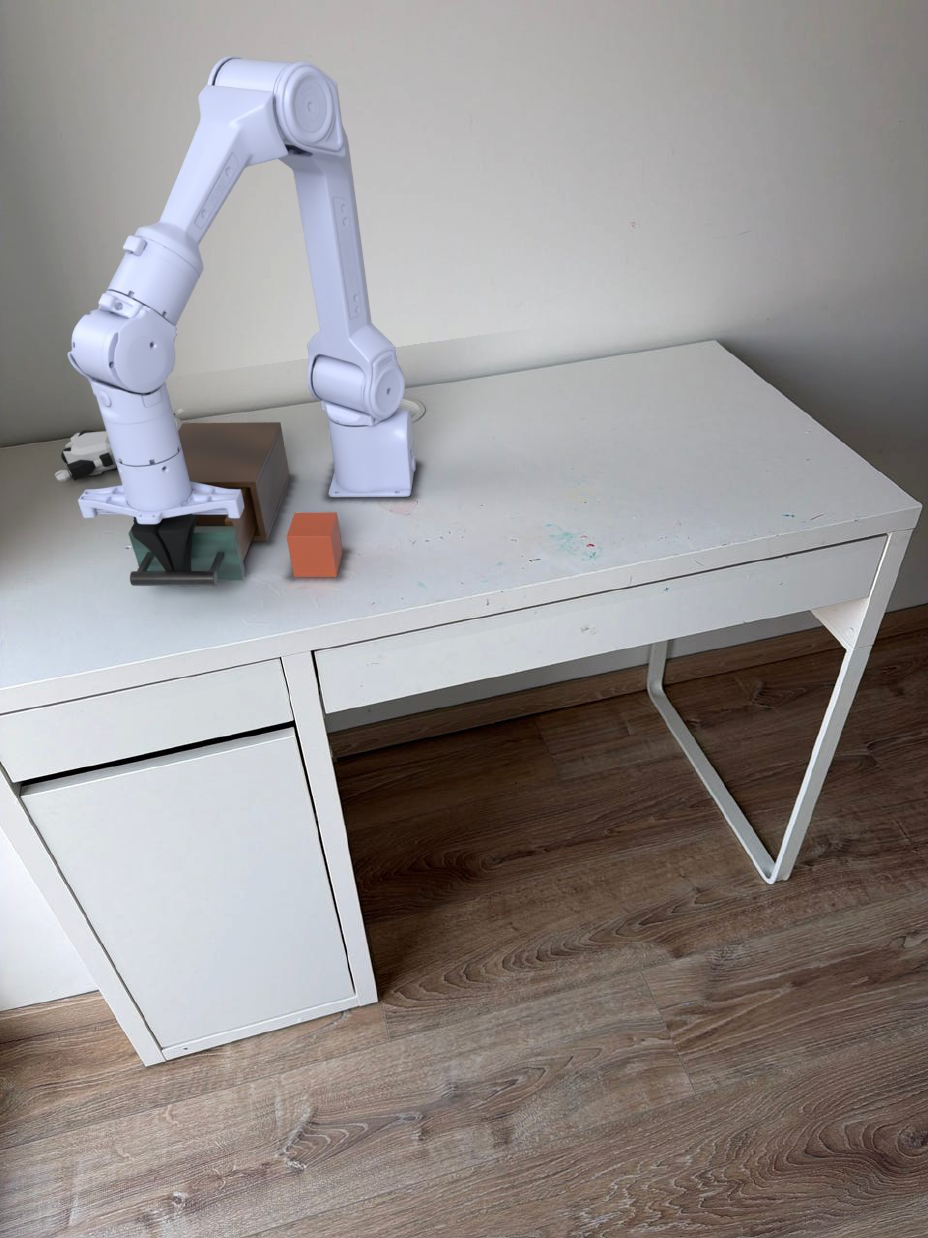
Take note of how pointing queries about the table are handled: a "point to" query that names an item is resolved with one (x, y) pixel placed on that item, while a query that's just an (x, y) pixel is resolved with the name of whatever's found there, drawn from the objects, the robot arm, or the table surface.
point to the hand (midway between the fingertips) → (181, 576)
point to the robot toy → (90, 454)
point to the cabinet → (240, 463)
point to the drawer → (204, 551)
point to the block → (315, 544)
